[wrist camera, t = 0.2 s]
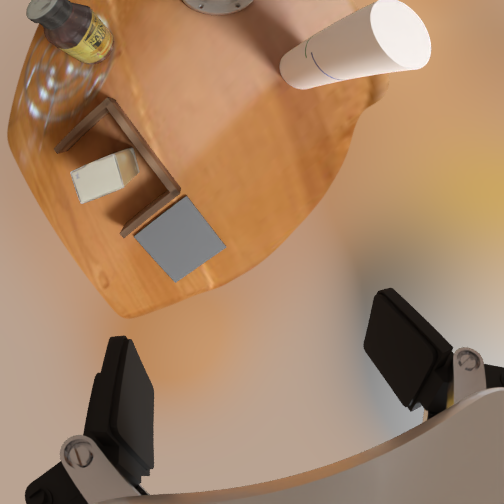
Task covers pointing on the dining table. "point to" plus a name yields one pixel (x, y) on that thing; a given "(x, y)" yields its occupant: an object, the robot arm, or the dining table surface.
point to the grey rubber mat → (180, 239)
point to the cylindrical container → (360, 47)
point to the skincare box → (105, 175)
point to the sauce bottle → (73, 29)
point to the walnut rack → (141, 146)
